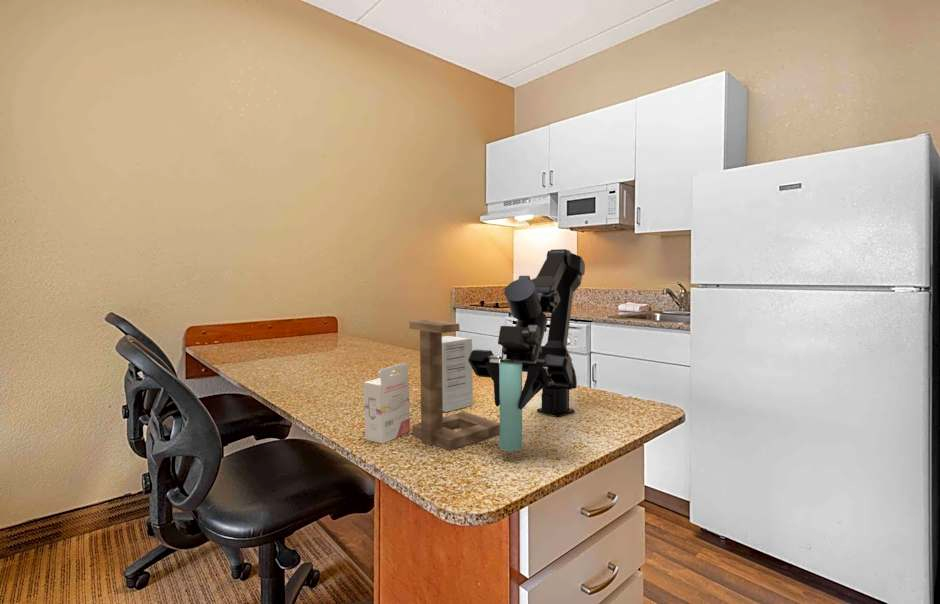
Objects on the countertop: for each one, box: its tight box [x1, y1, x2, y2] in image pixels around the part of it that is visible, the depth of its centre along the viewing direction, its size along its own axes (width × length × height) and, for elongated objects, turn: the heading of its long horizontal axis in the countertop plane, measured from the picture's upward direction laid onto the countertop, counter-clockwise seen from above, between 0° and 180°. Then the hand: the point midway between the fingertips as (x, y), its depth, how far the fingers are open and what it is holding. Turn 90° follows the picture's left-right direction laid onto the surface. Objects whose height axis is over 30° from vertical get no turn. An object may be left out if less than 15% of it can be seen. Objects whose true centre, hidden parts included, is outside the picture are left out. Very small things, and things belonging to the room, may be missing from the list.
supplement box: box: [442, 335, 474, 413], centre depth 119 cm, size 10×9×17 cm
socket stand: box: [408, 319, 500, 452], centre depth 97 cm, size 15×12×23 cm
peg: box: [499, 361, 523, 452], centre depth 84 cm, size 4×4×15 cm
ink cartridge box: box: [363, 362, 411, 444], centre depth 97 cm, size 9×5×15 cm, turn 148°
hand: (508, 406), depth 83 cm, fingers closed on peg, 4 cm apart
